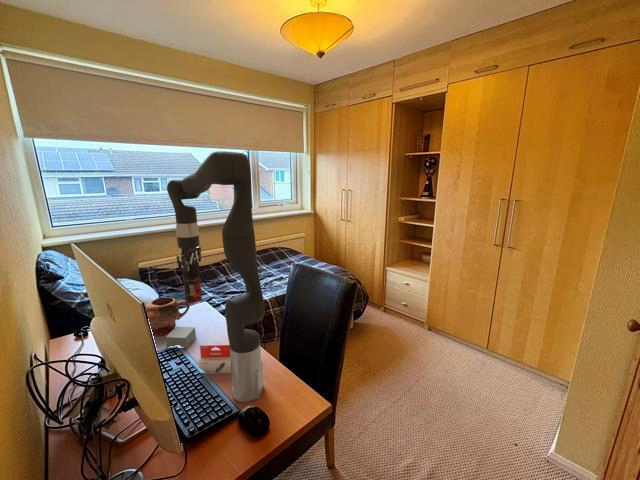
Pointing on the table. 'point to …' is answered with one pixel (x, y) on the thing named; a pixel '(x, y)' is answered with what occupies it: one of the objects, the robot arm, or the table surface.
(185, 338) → the grey block
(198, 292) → the deodorant
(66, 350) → the table surface
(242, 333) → the robot arm
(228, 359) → the ink cartridge box
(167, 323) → the decorated ceramic mug
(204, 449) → the table surface
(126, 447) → the table surface
